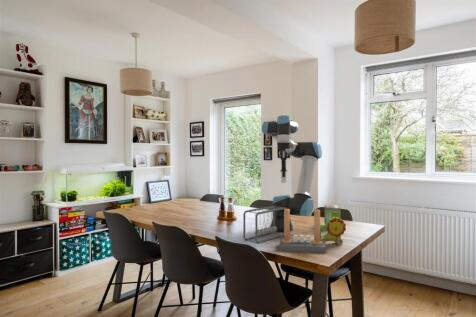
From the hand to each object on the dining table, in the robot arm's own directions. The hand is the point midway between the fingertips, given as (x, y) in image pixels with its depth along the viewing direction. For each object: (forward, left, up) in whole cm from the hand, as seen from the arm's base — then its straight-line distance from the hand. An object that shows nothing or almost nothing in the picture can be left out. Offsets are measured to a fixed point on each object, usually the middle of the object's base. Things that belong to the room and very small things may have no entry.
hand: (283, 182), depth 188 cm
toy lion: (+1, +27, -35) cm, 44 cm away
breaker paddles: (+13, +10, -31) cm, 35 cm away
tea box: (-44, +33, -35) cm, 65 cm away
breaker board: (+13, +10, -34) cm, 38 cm away
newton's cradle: (-7, -11, -35) cm, 37 cm away
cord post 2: (+13, +18, -31) cm, 38 cm away
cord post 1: (+13, +2, -31) cm, 34 cm away
